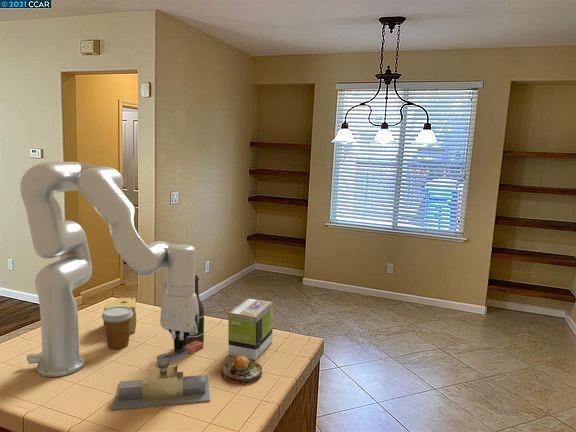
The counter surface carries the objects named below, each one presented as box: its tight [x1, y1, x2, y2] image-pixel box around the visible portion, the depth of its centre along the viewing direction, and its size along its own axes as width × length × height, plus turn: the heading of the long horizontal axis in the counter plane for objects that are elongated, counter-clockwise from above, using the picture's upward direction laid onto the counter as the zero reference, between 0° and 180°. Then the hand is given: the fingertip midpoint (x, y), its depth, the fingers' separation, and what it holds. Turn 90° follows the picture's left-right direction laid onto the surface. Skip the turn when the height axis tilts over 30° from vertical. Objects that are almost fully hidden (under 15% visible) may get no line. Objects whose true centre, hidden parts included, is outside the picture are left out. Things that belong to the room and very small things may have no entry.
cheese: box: [102, 297, 137, 336], centre depth 155 cm, size 10×11×10 cm
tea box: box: [227, 297, 274, 361], centre depth 143 cm, size 15×10×15 cm, turn 161°
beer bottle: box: [186, 274, 205, 345], centre depth 143 cm, size 8×8×24 cm
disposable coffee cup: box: [101, 306, 133, 351], centre depth 141 cm, size 10×10×12 cm
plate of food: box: [221, 356, 263, 385], centre depth 127 cm, size 12×12×8 cm
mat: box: [111, 374, 211, 411], centre depth 116 cm, size 24×13×1 cm, turn 103°
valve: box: [117, 365, 206, 401], centre depth 114 cm, size 22×6×8 cm, turn 103°
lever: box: [156, 341, 204, 369], centre depth 118 cm, size 15×3×2 cm, turn 145°
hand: (179, 350), depth 123 cm, fingers closed
